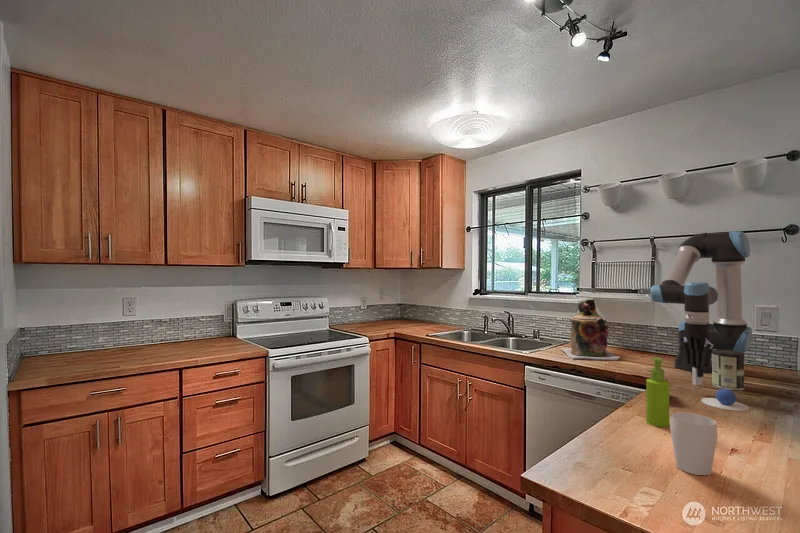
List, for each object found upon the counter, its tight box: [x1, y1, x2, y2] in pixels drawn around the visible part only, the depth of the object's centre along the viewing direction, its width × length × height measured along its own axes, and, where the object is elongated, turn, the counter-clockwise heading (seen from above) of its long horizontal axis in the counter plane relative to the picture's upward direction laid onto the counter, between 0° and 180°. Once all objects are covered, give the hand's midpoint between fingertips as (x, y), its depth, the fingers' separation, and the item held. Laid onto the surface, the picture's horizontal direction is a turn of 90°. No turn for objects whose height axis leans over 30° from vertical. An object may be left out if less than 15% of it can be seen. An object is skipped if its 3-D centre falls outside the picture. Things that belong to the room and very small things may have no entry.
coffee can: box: [711, 349, 745, 391], centre depth 160 cm, size 10×10×14 cm
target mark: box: [700, 397, 750, 412], centre depth 138 cm, size 13×13×1 cm
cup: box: [669, 411, 718, 477], centre depth 93 cm, size 9×9×12 cm
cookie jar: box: [560, 297, 621, 361], centre depth 217 cm, size 25×25×32 cm
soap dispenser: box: [645, 356, 670, 428], centre depth 121 cm, size 6×7×20 cm
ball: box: [715, 388, 737, 405], centre depth 138 cm, size 6×6×6 cm
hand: (697, 384), depth 150 cm, fingers closed
